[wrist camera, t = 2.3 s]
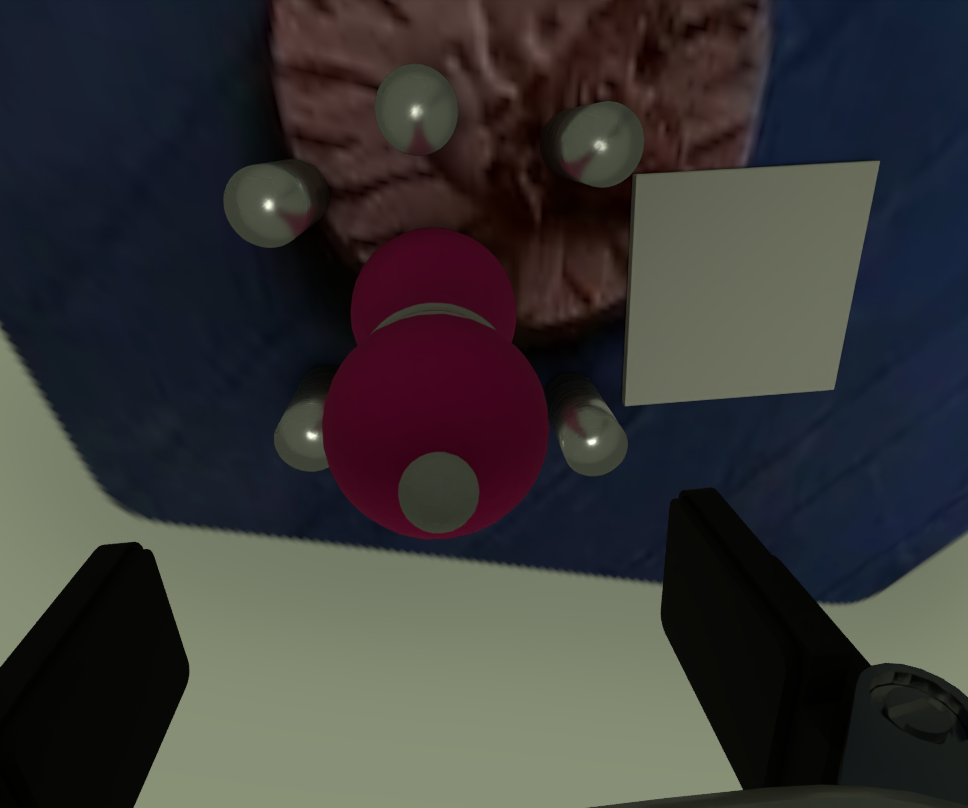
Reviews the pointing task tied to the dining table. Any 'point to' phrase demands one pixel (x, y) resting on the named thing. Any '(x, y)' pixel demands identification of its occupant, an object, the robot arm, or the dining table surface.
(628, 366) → the mat
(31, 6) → the dining table surface
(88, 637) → the robot arm
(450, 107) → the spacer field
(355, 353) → the pepper mill
